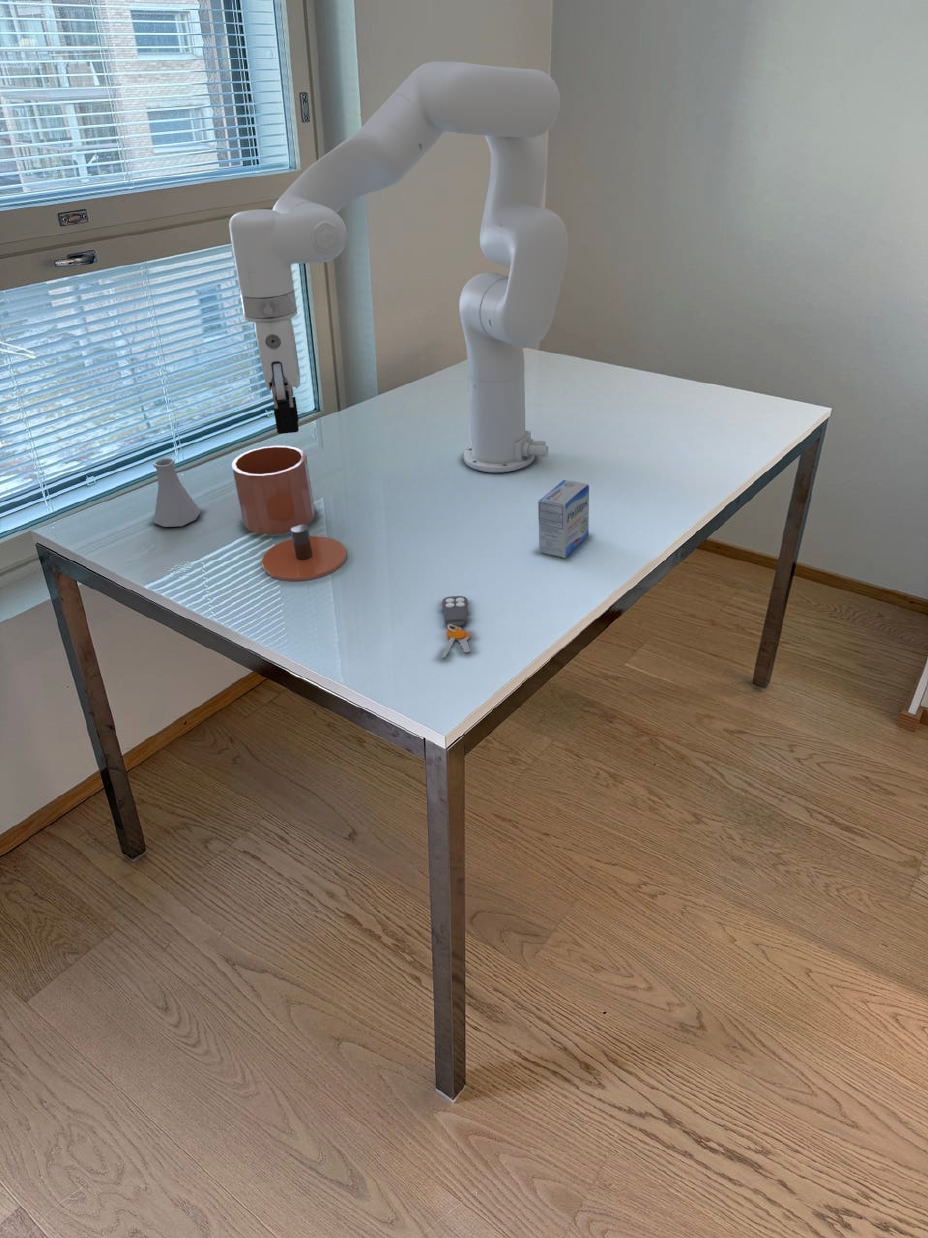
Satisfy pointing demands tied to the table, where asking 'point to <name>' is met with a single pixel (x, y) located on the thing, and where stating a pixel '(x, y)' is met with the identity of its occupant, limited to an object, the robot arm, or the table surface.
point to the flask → (172, 497)
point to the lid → (303, 556)
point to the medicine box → (563, 518)
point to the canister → (273, 489)
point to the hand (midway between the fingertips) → (288, 426)
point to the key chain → (456, 621)
